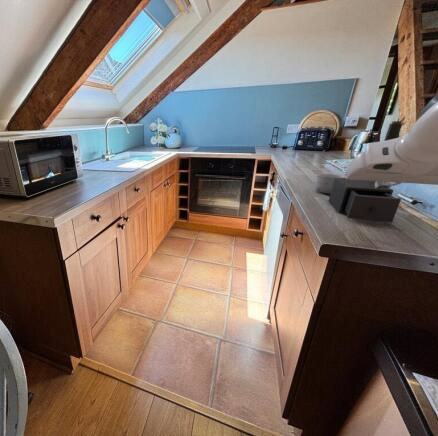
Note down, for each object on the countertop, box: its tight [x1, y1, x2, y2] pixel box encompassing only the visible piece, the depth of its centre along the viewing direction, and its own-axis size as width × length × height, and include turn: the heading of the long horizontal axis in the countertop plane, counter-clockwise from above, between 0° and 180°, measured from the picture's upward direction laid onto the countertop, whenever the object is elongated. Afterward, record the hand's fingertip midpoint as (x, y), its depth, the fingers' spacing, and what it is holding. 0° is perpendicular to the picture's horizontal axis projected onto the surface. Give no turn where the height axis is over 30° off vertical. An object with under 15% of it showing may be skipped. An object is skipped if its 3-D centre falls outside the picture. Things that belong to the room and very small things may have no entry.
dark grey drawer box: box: [328, 177, 394, 215], centre depth 89 cm, size 15×13×10 cm
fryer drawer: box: [343, 189, 402, 223], centre depth 82 cm, size 15×11×8 cm
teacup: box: [314, 173, 348, 195], centre depth 108 cm, size 14×11×8 cm
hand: (381, 186), depth 68 cm, fingers closed
